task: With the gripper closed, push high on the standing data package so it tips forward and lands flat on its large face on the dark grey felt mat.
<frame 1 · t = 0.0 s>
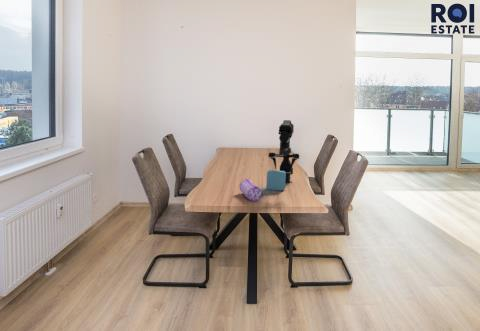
hand: (283, 169, 272), 15 cm above the table, tool pointing down, fingers open, 9 cm apart
pencil case: (250, 197, 266), on the table
felt mat: (265, 191, 281), on the table
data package: (275, 189, 287), on the table, touching felt mat
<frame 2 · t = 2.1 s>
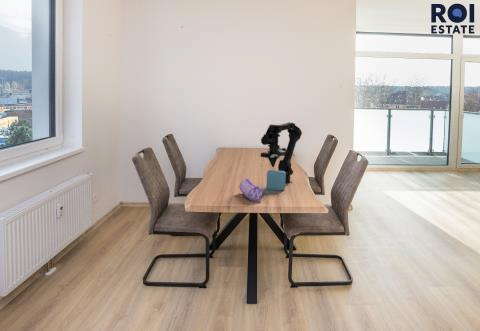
hand: (272, 166, 295), 13 cm above the table, tool pointing down, fingers closed
nothing on the table moved.
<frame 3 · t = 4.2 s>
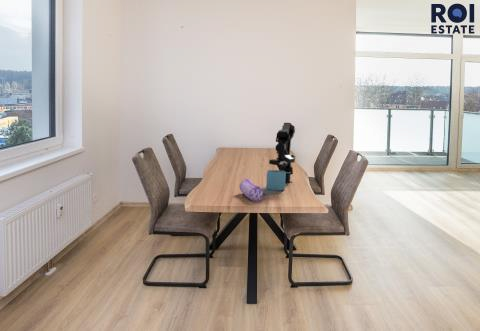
hand: (281, 174, 288), 10 cm above the table, tool pointing down, fingers closed
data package: (275, 189, 287), on the table, touching felt mat
everything else where it was.
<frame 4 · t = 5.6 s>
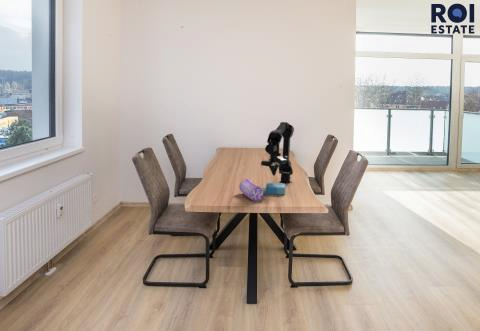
hand: (273, 175, 284), 10 cm above the table, tool pointing down, fingers closed
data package: (275, 186, 285), point 2 cm above the table, touching felt mat
everything else where it was.
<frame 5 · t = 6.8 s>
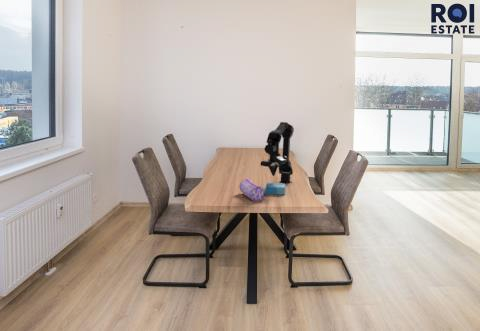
hand: (273, 175, 284), 10 cm above the table, tool pointing down, fingers closed
nothing on the table moved.
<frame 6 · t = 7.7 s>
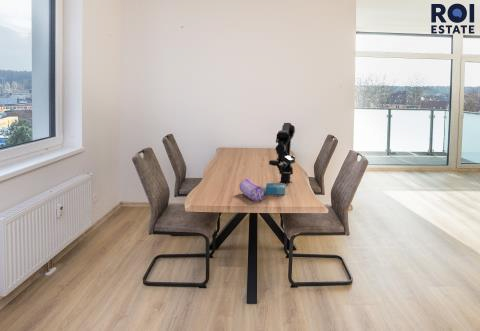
hand: (281, 174, 289), 9 cm above the table, tool pointing down, fingers closed
nothing on the table moved.
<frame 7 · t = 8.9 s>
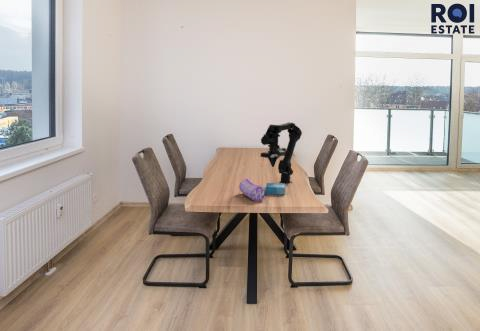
hand: (272, 166, 295), 13 cm above the table, tool pointing down, fingers closed
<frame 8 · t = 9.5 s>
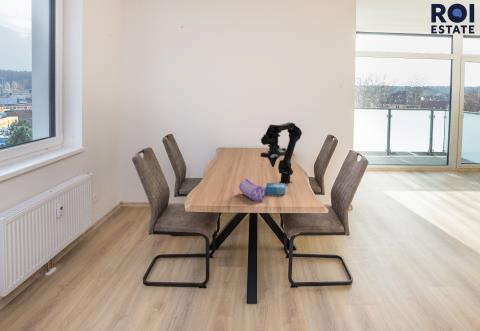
hand: (272, 166, 295), 13 cm above the table, tool pointing down, fingers closed
nothing on the table moved.
at the end: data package tilted 90°; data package inside the target area (8.6 cm from its centre), point 2.5 cm above the table; the gripper is holding nothing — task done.
